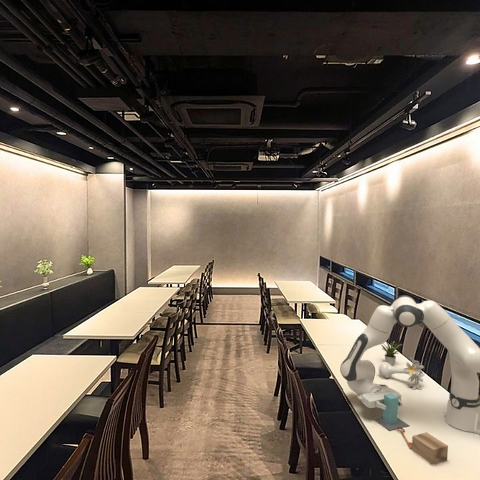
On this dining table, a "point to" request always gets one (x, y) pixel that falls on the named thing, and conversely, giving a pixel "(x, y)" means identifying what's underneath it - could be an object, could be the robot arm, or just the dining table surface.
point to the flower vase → (388, 370)
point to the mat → (391, 426)
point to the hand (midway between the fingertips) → (393, 406)
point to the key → (404, 437)
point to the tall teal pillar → (390, 408)
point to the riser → (429, 448)
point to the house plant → (390, 353)
